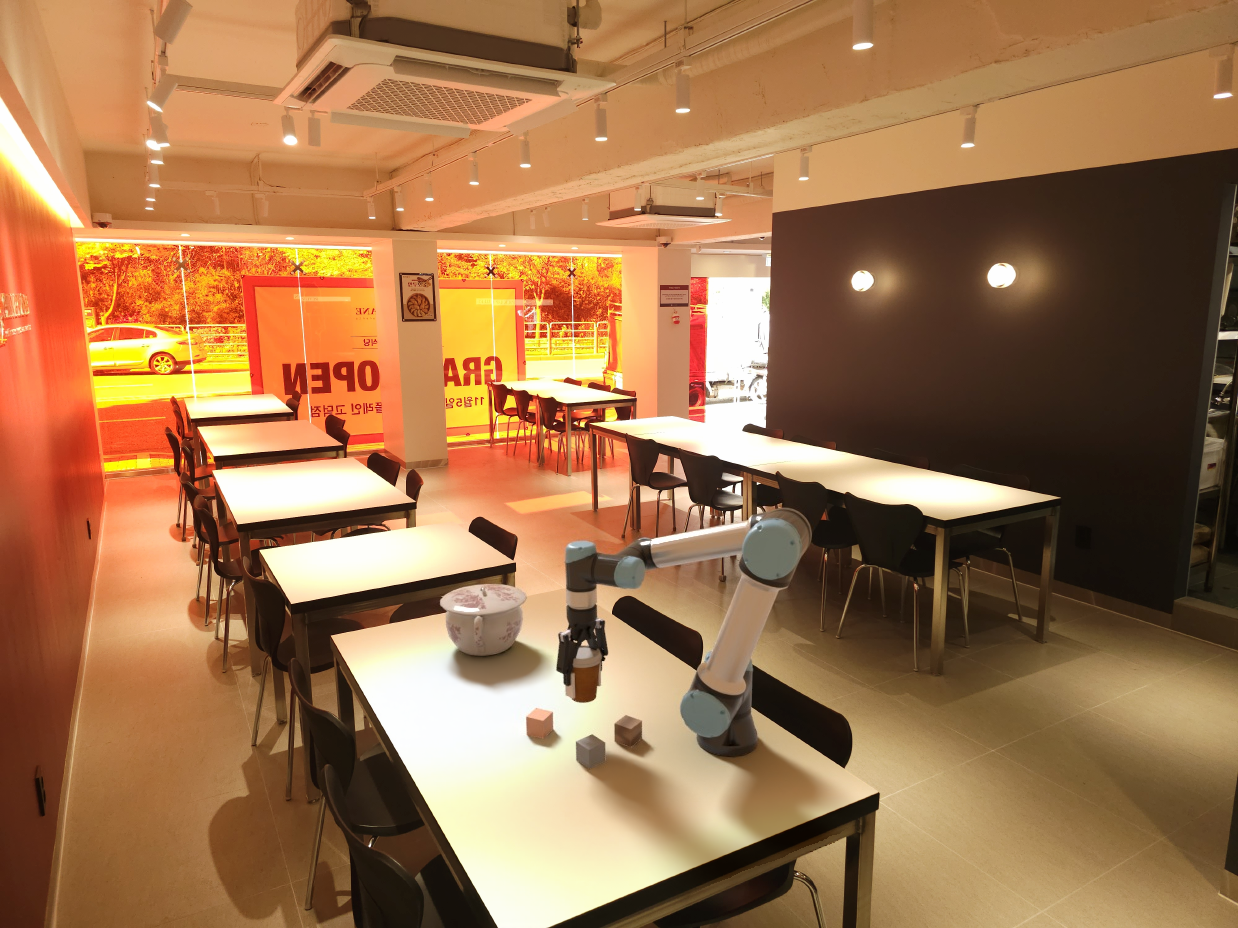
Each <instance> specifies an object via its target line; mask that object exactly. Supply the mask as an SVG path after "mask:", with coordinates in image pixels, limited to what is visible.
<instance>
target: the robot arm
mask: <svg viewBox="0 0 1238 928" xmlns="http://www.w3.org/2000/svg"><path fill="white" fill-rule="evenodd" d="M812 534H813V533H812V527H811V524H810V522H809V521H808V519H807V518H806V517H805V515H803V514H802V513H801V512H800V511H798V510H796V509H793V508H790V507H780V508H779V507H778V508H776V509H771V510H768V511H763V512H759V513H756V514H751V515H750V516H749V519H747V520H741V521H736V522H732V523H731V522H730V523H726V524H721V525H715V526H711V527H706V528H701V529H697V530H696V529H695V530H690V531H686V532H681V533H675V534H670V535H665V536H660V537H654V538H649V537H640V538H639V539H636V540H634V541H633V542H631V543H630V544H628V545H626V547H624V548H623V549H621V550H619V551H618V552H616V553H614V554H611V553H602V552H598V551H597V546H596V543H595V542H593V541H592V542H591V541H589V540H574V541H571V542H570V543H568V544H567V545H566V546H565V550H564V551H565V552H564V553H565V555H564V558H565V559H564V564H565V597H566V598H565V599H566V600H565V602H566V604H567V605H566V608H565V611H566V620H567V622H568V627H567V628H566V629H567V630H566V631H564V632H562V631H559V632H558V634H557V636H558V641H559V642H558V651H557V657H556V658H557V659H556V669H555V670H556V672H558V673H560V674H562V676H563V677H562V678H563V685H564V687H565V691H564V692H565V696H566V697H569V698H570V699H571V700H572V699H574V698H575V673H573V672H572V670H573V665H572V664H573V661H574V658H576V656H577V653H578V649H579V647H581V645H582V644H583V642H585V641H586V642H587V644H588V645H589V647H590V648H591V649H594V650H597V649H599V650H600V653H601V655H602V659H601V661H600V667H599V676H598V685H597V687H601V686H602V671H603V662H605V660H606V657H607V656H608V655H609V650H608V649H609V648H608V641H607V636H606V630H605V629H606V621H605V620H604V619H602V618H599V617H598V605H597V603H598V591H597V588H598V587H597V585H600V586H607V587H613V588H620V589H623V590H626V589H629V590H636V589H639V588H640V587H641V586H642V583H643V582H644V580H645V575H646V571H650V570H656V569H663V568H667V567H674V566H677V565H685V564H690V563H697V562H703V561H708V560H714V559H720V558H726V557H731V556H737V555H741V557H740V560H739V563H738V565H737V567H738V570H739V572H740V575H741V576H740V580H739V581H738V584H737V586H736V589H735V591H734V594H733V596H732V599H731V602H730V603H729V606H728V608H727V612H726V614H725V617H724V618H723V621H722V624H721V627H720V629H719V632H718V635H717V637H716V639H715V643H714V645H713V647H712V649H711V650H710V651H708V652H707V653H705V656H704V661H703V662H702V663H700V664H699V665H698V667H697V670H696V672H695V674H694V677H693V680H692V682H691V684H690V687H689V689H688V691H687V692H686V693H685V694H684V695H683V696H682V699H681V701H680V705H679V713H680V717H681V719H682V720H683V722H684V724H685V725H686V727H688V729H689V730H691V732H693V733H695V734H696V741H697V744H698V745H699V746H700V747H701V748H702V749H703V750H705V751H707V752H709V753H710V754H713V755H715V756H721V757H739V756H740V757H741V756H744V755H747V754H749V753H752V752H753V751H754V750H756V748H757V746H758V737H759V735H758V731H757V728H756V726H755V722H754V719H753V714H752V694H753V690H752V689H753V672H754V668H753V659H752V657H753V654H754V651H755V650H756V647H757V644H758V641H759V639H760V637H761V634H762V633H763V629H764V628H765V625H766V622H767V620H768V617H769V615H770V612H771V610H772V608H773V605H774V603H775V601H776V598H777V596H778V594H779V591H782V590H785V589H787V588H788V587H789V586H790V583H791V580H793V576H794V574H795V572H796V570H797V567H798V565H799V563H800V561H801V558H802V556H803V555H804V553H806V551H807V550H808V548H809V547H810V544H811V542H812V536H813V535H812ZM567 667H568V668H567Z"/></svg>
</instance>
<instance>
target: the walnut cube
mask: <svg viewBox="0 0 1238 928" xmlns="http://www.w3.org/2000/svg"><path fill="white" fill-rule="evenodd" d="M613 728H614V730H613V731H614V737H613V738H614V742H615V743H617V744H620V745H623V746H626V747H629V748H632V747H633V746H635V745H636V744H637V743H638V742H640V741H641V740H642V739H643V720H641V719H639V718H635V717H633V716H629V715H628V714H627V715H626V714H625V715H623V716H622V717H621V718H619V719H618V720H616V721H615V722H614V727H613Z"/></svg>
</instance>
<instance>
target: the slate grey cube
mask: <svg viewBox="0 0 1238 928" xmlns="http://www.w3.org/2000/svg"><path fill="white" fill-rule="evenodd" d="M575 760H576V761H577V762H578V763H579V764H581V765H583V766H584V767H585V768H587V769H588V770H591V769H592V768H595V767H597V766H598V765H601V764H603V763H605V762H606V741H604V740H603V739H600V738H599V737H598V736H596V735H594V734H590V735H587V736H585V737H583V738H580V739H578V740H576V741H575Z"/></svg>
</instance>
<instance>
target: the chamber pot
mask: <svg viewBox="0 0 1238 928" xmlns="http://www.w3.org/2000/svg"><path fill="white" fill-rule="evenodd" d="M527 599H528V597H527V594H526V592H525V591H523V590H522V589H520V588H519V587H516V586H512V585H507V584H501V583H500V584H497V583H496V584H495V583H485V584H484V583H483V584H474V585H468V586H463V587H459V588H457V589H454V590H452V591H449V592H448V593H446V594H444V596H442V598H440V600H439V602H440V603H439V605H440V607H442V609H443V610H445V611H446V613H445V626H446V631H447V634H448V637H449V639H450V640H451V641H452V642H453V644H454V646H455V647H456V648H457V649H458V650H459V651H460V652H462V653H464V654H466V655H470V656H480V657H487V656H492V655H493V656H494V655H496V654H497V655H498V654H500V653H503V652H505V651H507V650H508V649H510V648H511V647H513V644H514V643H515V641H516V640H517V638H518V636H519V634H520V633H521V630H522V625H523V620H524V614H523V613H524V612H523V608H522V605H524V604H525V602H526V600H527Z"/></svg>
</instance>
